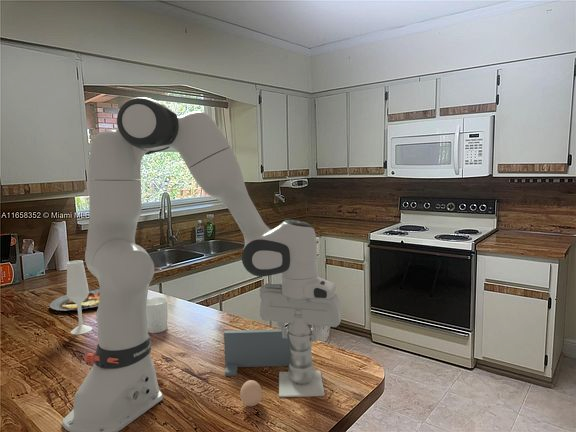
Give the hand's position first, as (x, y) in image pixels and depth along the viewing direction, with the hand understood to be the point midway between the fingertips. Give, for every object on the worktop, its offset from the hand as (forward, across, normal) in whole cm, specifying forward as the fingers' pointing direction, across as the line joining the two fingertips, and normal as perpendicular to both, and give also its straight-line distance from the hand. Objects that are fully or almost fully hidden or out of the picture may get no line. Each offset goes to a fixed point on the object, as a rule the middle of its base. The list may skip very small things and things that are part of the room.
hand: (300, 339), depth 101 cm
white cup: (+12, -56, +21) cm, 61 cm away
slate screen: (+12, -11, +5) cm, 17 cm away
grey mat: (+12, 0, 0) cm, 12 cm away
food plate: (+12, -100, +37) cm, 107 cm away
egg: (+12, -9, -11) cm, 19 cm away
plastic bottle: (+12, 0, +1) cm, 12 cm away
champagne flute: (+12, -81, +14) cm, 83 cm away
